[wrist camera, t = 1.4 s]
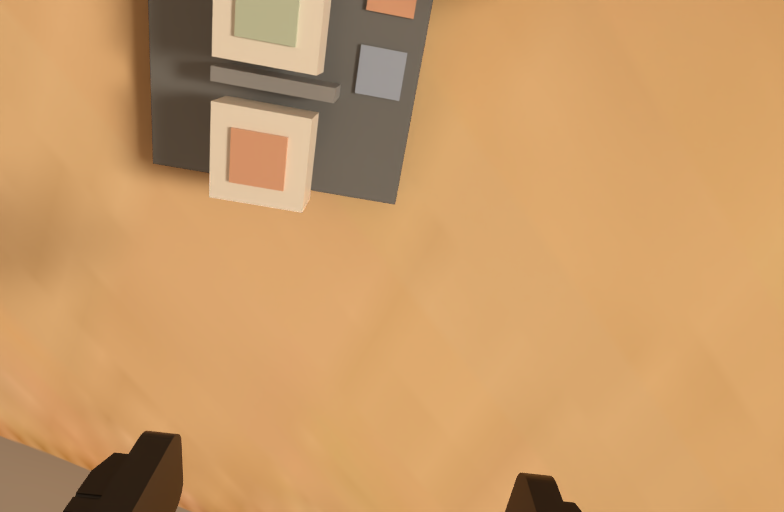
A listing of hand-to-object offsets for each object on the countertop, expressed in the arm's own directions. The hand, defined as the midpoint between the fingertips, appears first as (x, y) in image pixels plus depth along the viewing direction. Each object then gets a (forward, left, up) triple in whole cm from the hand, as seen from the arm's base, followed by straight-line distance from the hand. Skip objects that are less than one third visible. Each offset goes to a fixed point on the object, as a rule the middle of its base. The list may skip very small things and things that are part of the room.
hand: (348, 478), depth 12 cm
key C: (-3, -6, -18) cm, 20 cm away
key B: (-10, -6, -18) cm, 22 cm away
